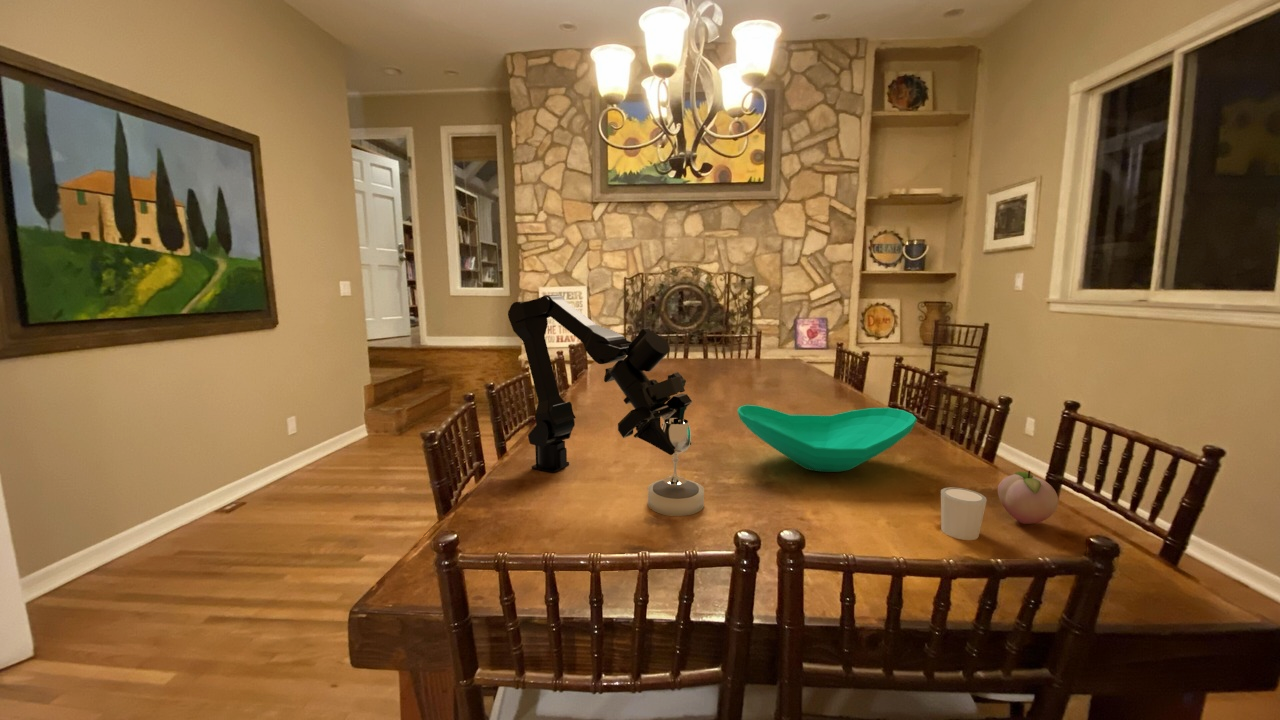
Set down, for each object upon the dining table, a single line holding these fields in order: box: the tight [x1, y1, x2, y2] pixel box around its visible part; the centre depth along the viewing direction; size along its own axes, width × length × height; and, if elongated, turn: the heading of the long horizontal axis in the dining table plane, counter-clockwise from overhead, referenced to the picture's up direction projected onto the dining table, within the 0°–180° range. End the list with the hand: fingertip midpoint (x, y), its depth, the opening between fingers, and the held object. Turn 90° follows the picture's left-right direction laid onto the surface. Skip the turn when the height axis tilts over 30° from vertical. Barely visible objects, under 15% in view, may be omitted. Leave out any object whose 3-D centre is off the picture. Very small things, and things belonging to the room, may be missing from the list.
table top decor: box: [736, 404, 918, 473], centre depth 123 cm, size 40×28×13 cm
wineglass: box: [661, 418, 692, 485], centre depth 102 cm, size 6×6×12 cm
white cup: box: [940, 486, 987, 541], centre depth 92 cm, size 7×7×7 cm
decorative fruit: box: [997, 470, 1059, 525], centre depth 95 cm, size 9×8×10 cm
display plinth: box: [647, 478, 705, 517], centre depth 103 cm, size 11×11×3 cm
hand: (681, 449), depth 101 cm, fingers closed on wineglass, 6 cm apart
